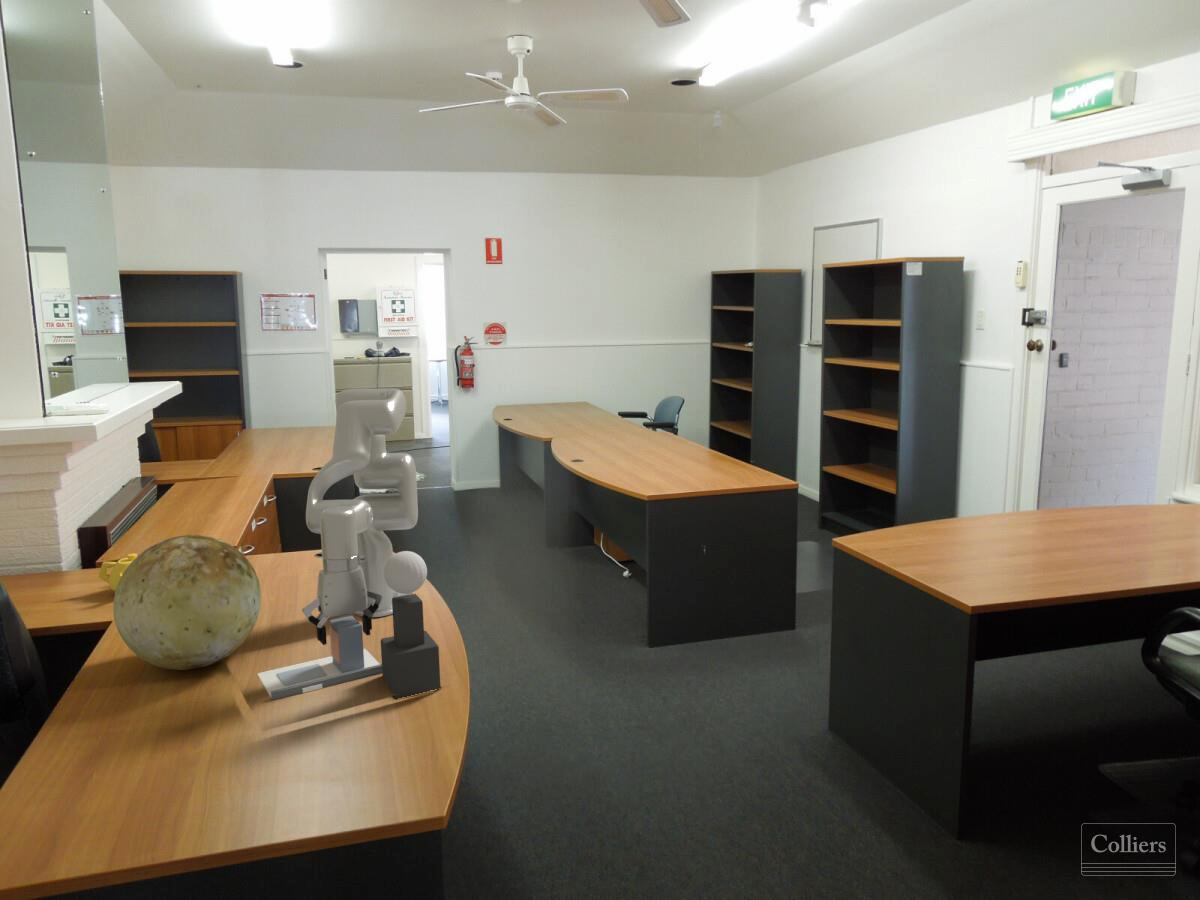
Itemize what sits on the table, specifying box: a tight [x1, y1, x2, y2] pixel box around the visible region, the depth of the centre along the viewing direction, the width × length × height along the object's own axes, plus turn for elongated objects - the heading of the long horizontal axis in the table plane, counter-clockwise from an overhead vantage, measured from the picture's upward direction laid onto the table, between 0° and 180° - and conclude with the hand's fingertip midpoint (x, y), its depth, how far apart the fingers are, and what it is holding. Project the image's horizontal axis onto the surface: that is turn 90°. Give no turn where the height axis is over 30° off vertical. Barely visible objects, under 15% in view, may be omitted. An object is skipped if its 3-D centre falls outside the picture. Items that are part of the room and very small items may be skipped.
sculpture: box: [380, 550, 441, 700], centre depth 178 cm, size 10×10×30 cm
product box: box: [329, 615, 364, 673], centre depth 187 cm, size 5×7×10 cm
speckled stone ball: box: [113, 534, 262, 671], centre depth 190 cm, size 30×30×30 cm
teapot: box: [98, 552, 141, 593], centre depth 241 cm, size 20×18×11 cm
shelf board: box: [256, 647, 382, 701], centre depth 184 cm, size 24×15×3 cm, turn 123°
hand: (345, 638), depth 186 cm, fingers open, 9 cm apart
